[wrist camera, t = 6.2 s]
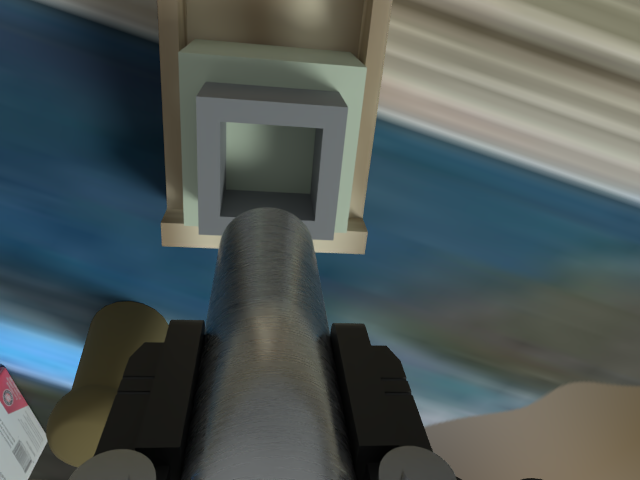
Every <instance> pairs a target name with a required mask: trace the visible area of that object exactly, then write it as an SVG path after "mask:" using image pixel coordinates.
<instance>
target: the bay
mask: <svg viewBox="0 0 640 480" xmlns="http://www.w3.org/2000/svg"><path fill="white" fill-rule="evenodd" d="M157 7H158V28H159V48H160V69H161V90H162V110H163V131H164V152H165V172H166V193H167V210H166V213H165V215H164V217H163V219H162V221H161V235H162V246H172V247H198V248H219V245H220V240H221V237H222V236H218V235H199V227H198V226H184V212H183V181H182V151H181V121H180V91H179V61H178V52H179V51H180V50H182V49H183V48H184V47H186V46H187V45H188V44H189V43H191V42H192V41H193V40H195V39H203V40H214V41H226V42H238V43H250V44H261V45H273V46H285V47H297V48H309V49H320V50H332V51H344V52H351V53H352V54H353V55H354V56H355V57H356V58H357V59H358V60H360V61H361V62H362V63H363V64H364V65H365V66H366V67H367V72H366V80H365V88H364V96H363V104H362V112H361V121H360V129H359V137H358V145H357V153H356V161H355V169H354V177H353V185H352V193H351V201H350V209H349V217H348V225H347V233H335V232H334V239H333V240H313V245H314V250H315V252H323V253H348V254H365V247H366V240H367V233H368V232H367V229H366V226H365V224H364V221H363V210H364V203H365V196H366V188H367V181H368V174H369V167H370V159H371V152H372V145H373V138H374V130H375V123H376V116H377V109H378V101H379V94H380V87H381V80H382V72H383V65H384V58H385V51H386V43H387V36H388V29H389V21H390V14H391V7H392V0H157Z"/></svg>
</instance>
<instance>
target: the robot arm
mask: <svg viewBox="0 0 640 480" xmlns="http://www.w3.org/2000/svg"><path fill="white" fill-rule="evenodd" d="M204 338H205V323H204V320H171V321H170V323H169V327H168V330H167V334H166V337H165V341H164V342H144V343H143V344H142V345H141V346H140V347H139V348H138V349H137V350H136V351H135V352H134V353H133V354H132V355H131V356H130V357H129V360H128V362H127V365H126V368H125V371H124V374H123V379H121V382H120V385H119V387H118V390H117V395H116V396H115V399H114V401H113V404H112V407H111V410H110V413H109V415H108V418H107V421H106V424H105V426H104V429H103V432H102V435H101V438H100V440H99V443H98V446H97V449H96V452H95V454H94V456H93V457H92V458H90V459H89V460H87V461H85V462H84V463H83V464H82V465H80V466H79V467H78V468H77V469H76V470H75V472H74V473H73V474H72V476H71V477H70V478H69V480H180V477H181V474H182V468H183V462H184V456H185V450H186V444H187V438H188V433H189V427H190V421H191V415H192V409H193V403H194V397H195V391H196V385H197V379H198V373H199V367H200V361H201V355H202V350H203V344H204ZM330 339H331V345H332V350H333V356H334V361H335V367H336V372H337V378H338V383H339V389H340V394H341V400H342V405H343V411H344V416H345V422H346V427H347V433H348V438H349V444H350V449H351V455H352V460H353V466H354V471H355V475H356V480H461V479H460V478H458V477H456V476H455V474H454V472H453V470H452V469H451V467H450V466H449V465H448V464H447V462H446V461H445V460H443V459H442V458H441V457H440V456H438V455H437V454H435V453H434V452H433V451H432V448H431V446H430V443H429V440H428V437H427V435H426V432H425V429H424V426H423V423H422V420H421V417H420V415H419V412H418V409H417V406H416V403H415V401H414V398H413V395H411V389H410V387H409V384H408V381H406V375H405V372H404V370H403V367H402V364H401V361H400V360H399V359H398V358H397V357H396V356H395V354H394V353H393V352H392V351H391V350H390V349H389V348H388V347H387V346H371V344H370V340H369V337H368V333H367V330H366V327H365V325H364V324H353V323H333V324H332V327H331V332H330ZM522 480H542V479H535V478H527V479H522Z"/></svg>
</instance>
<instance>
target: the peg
mask: <svg viewBox="0 0 640 480" xmlns="http://www.w3.org/2000/svg"><path fill="white" fill-rule="evenodd" d="M180 480H356V475H355V471H354V466H353V460H352V455H351V449H350V444H349V438H348V433H347V427H346V422H345V416H344V411H343V405H342V400H341V394H340V389H339V383H338V378H337V372H336V367H335V361H334V356H333V350H332V345H331V339H330V332H329V327H328V321H327V316H326V310H325V305H324V299H323V294H322V289H321V283H320V278H319V272H318V267H317V261H316V256H315V250H314V245H313V240H312V236H311V234H310V232H309V230H308V228H307V227H306V225H305V224H304V223H303V222H302V221H301V220H300V219H299V218H298V217H296V216H295V215H293V214H291V213H289V212H287V211H285V210H282V209H278V208H271V207H262V208H255V209H251V210H248V211H246V212H244V213H242V214H240V215H238V216H237V217H236V218H234V219H233V220H232V221H231V222H230V223H229V224H228V226H227V227H226V228H225V230H224V232H223V234H222V237H221V240H220V245H219V251H218V256H217V262H216V268H215V274H214V280H213V286H212V291H211V297H210V303H209V309H208V315H207V320H206V326H205V338H204V344H203V350H202V355H201V361H200V367H199V373H198V379H197V385H196V391H195V397H194V403H193V409H192V415H191V421H190V427H189V433H188V438H187V444H186V450H185V456H184V462H183V468H182V474H181V477H180Z"/></svg>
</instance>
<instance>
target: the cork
mask: <svg viewBox="0 0 640 480" xmlns="http://www.w3.org/2000/svg"><path fill="white" fill-rule="evenodd" d="M168 327H169V325H168V324H167V322H166V320H165V319H164V317H163V316H162V315H161V314H159V313H158V312H157V311H156V310H155V309H153V308H151V307H149V306H147V305H144V304H142V303H137V302H131V301H125V302H116V303H113V304H110V305H107V306H105V307H104V308H102V309H101V310H100V311H98V312H97V313H96V315H95V316H94V318H93V320H92V321H91V324H90V328H89V331H88V335H87V338H86V342H85V345H84V349H83V352H82V355H81V359H80V362H79V366H78V369H77V373H76V376H75V380H74V383H73V386H72V390H71V391H70V392H69V393H67V394H66V395H65V396H63V397H62V398H61V399H60V400H59V401H58V402H57V404H56V406H55V407H54V409H53V411H52V412H51V414H50V416H49V418H48V423H47V430H46V437H47V441H48V444H49V446H50V449H51V451H52V452H53V453H54V454H55V455H56V457H57V458H59V459H60V460H62V461H63V462H65V463H67V464H69V465H72V466H75V467H79V466H80V465H82V464H83V463H84V462H85V461H87V460H89V459H90V458H92V457H93V456H94V454H95V452H96V449H97V446H98V443H99V440H100V438H101V435H102V432H103V429H104V426H105V424H106V421H107V418H108V415H109V413H110V410H111V407H112V404H113V401H114V399H115V396H116V395H117V390H118V387H119V385H120V382H121V379H123V374H124V371H125V368H126V365H127V362H128V360H129V357H130V356H131V355H132V354H133V353H134V352H135V351H136V350H137V349H138V348H139V347H140V346H141V345H142V344H143V343H144V342H164V341H165V337H166V334H167V330H168Z"/></svg>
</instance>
